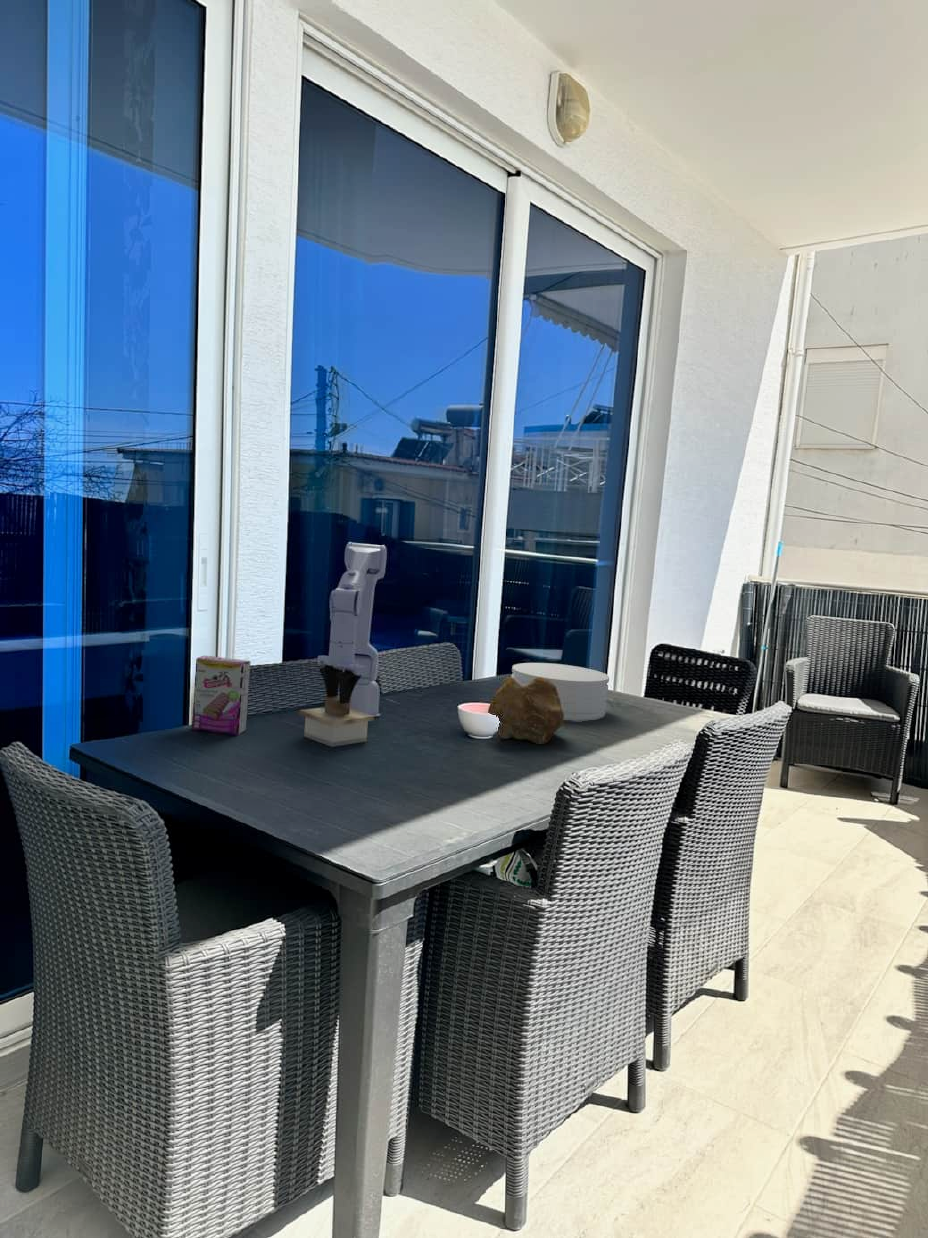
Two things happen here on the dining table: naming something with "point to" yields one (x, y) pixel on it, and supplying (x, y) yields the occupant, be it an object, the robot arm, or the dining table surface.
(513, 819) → the dining table surface
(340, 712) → the lid
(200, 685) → the candy bar box
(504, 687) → the rough brown rock
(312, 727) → the dish
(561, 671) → the grey short cylinder
